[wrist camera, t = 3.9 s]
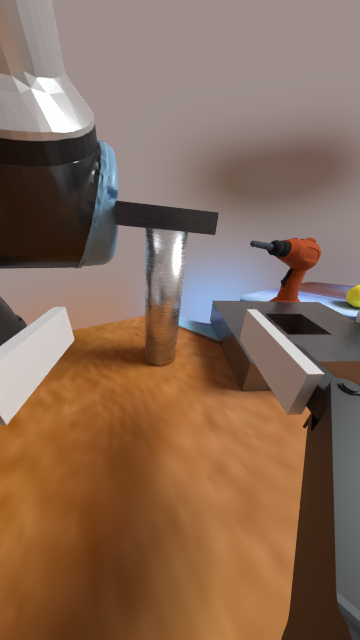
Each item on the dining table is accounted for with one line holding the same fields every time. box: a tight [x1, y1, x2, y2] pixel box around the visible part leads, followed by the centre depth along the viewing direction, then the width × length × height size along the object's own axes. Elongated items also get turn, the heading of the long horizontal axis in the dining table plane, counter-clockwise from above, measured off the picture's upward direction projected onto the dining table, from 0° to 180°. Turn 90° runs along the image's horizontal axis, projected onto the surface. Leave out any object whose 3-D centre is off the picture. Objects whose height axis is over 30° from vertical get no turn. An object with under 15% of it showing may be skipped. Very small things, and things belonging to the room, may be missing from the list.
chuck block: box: [210, 301, 360, 391], centre depth 26 cm, size 20×16×4 cm
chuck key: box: [115, 201, 218, 366], centre depth 20 cm, size 9×4×17 cm, turn 94°
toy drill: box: [250, 238, 321, 302], centre depth 35 cm, size 5×19×15 cm, turn 115°
